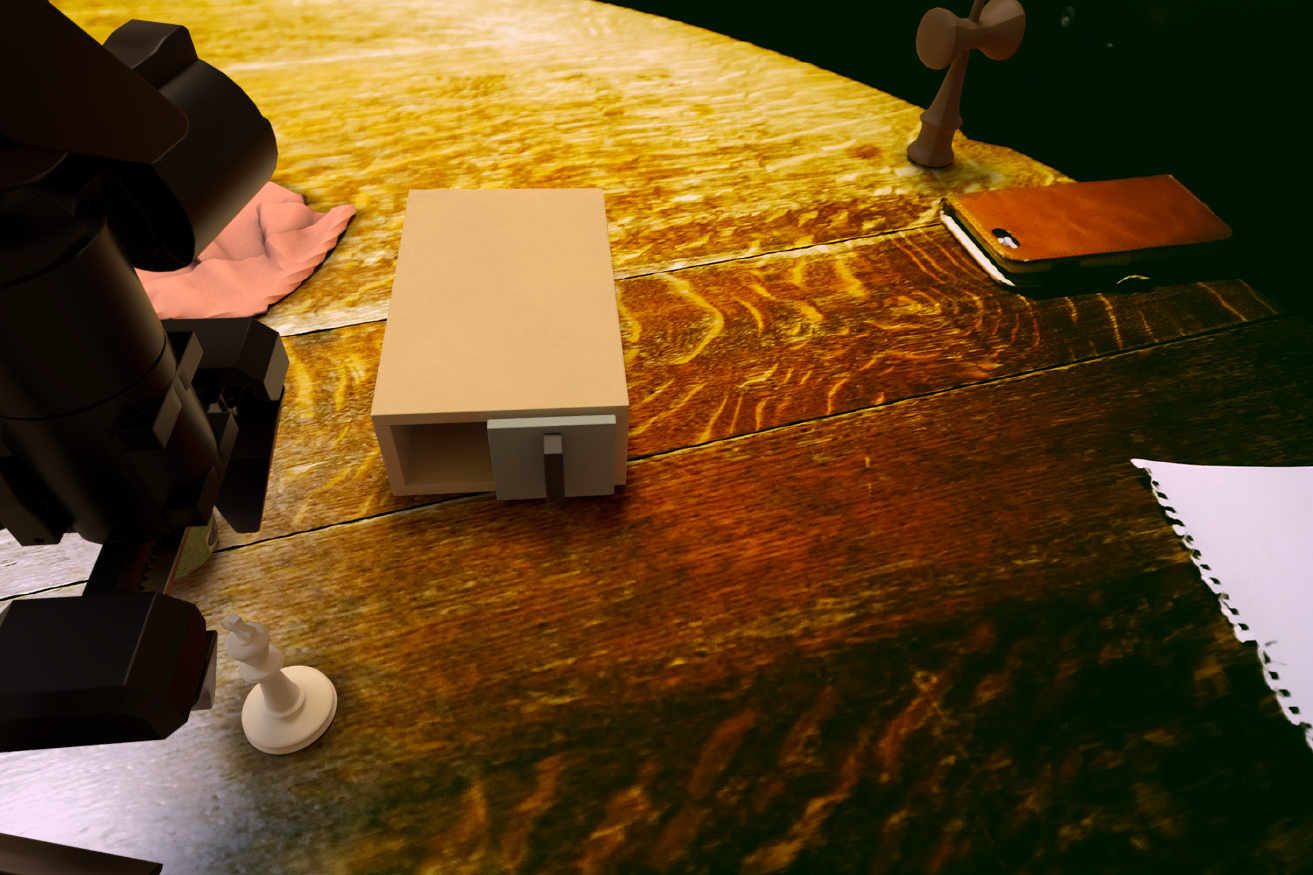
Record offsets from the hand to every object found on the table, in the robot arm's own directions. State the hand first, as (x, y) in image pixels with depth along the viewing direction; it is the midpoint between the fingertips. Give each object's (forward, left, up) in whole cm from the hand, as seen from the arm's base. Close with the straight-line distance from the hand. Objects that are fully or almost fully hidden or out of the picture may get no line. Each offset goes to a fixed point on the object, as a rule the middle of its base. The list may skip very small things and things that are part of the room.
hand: (226, 611), depth 38 cm
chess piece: (0, 0, -11) cm, 11 cm away
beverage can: (+11, +9, -11) cm, 18 cm away
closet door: (+13, -15, -10) cm, 23 cm away
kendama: (+60, -58, -11) cm, 84 cm away
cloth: (+45, +12, -11) cm, 48 cm away
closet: (+28, -12, -11) cm, 32 cm away
